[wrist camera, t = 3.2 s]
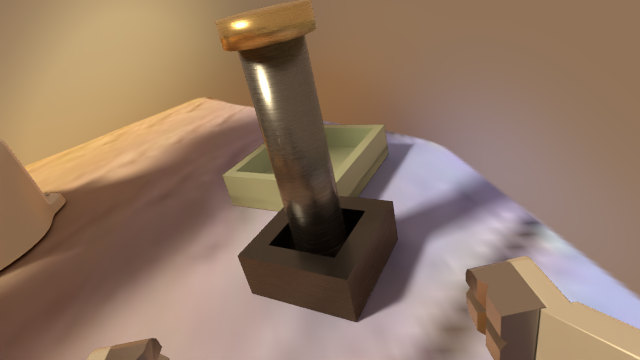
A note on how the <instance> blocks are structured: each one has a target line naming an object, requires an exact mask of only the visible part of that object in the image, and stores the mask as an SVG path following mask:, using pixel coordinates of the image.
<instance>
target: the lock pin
mask: <svg viewBox="0 0 640 360" xmlns="http://www.w3.org/2000/svg"><path fill="white" fill-rule="evenodd" d="M215 24H216V27H217V30H218V34H219V37H220V40H221V43H222V47H223V49H224V50H225V51H238V53H239V57H240V60H241V64H242V67H243V71H244V74H245V77H246V81H247V84H248V87H249V91H250V94H251V98H252V101H253V104H254V108H255V111H256V114H257V118H258V121H259V125H260V128H261V131H262V135H263V138H264V141H265V145H266V148H267V152H268V155H269V158H270V162H271V165H272V169H273V172H274V175H275V179H276V182H277V185H278V189H279V192H280V196H281V199H282V202H283V206H284V209H285V212H286V216H287V219H288V223H289V226H290V229H291V233H292V236H293V240H294V243H295V246H296V250H297V251H301V252H306V253H311V254H317V255H322V256H327V257H332V258H335V257H336V255H337V254H338V252H339V251H340V249H341V248H342V246H343V245H344V243H345V242H346V240H347V233H346V229H345V224H344V219H343V214H342V210H341V205H340V200H339V195H338V191H337V186H336V181H335V176H334V172H333V167H332V162H331V157H330V153H329V148H328V143H327V138H326V134H325V129H324V124H323V119H322V115H321V110H320V105H319V101H318V96H317V91H316V86H315V82H314V77H313V72H312V67H311V63H310V58H309V53H308V49H307V44H306V39H305V35H306V34H308V33H310V32H312V31H314V30H315V29H316V23H315V17H314V12H313V7H312V2H311V0H297V1H291V2H286V3H281V4H276V5H272V6H267V7H263V8H259V9H255V10H251V11H247V12H243V13H239V14H236V15H232V16H229V17H225V18H223V19H220V20H217V21H215Z"/></svg>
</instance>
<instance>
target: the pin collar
mask: <svg viewBox="0 0 640 360" xmlns="http://www.w3.org/2000/svg"><path fill="white" fill-rule="evenodd" d="M339 200H340V205H341V210H342V214H343V219H344V224H345V229H346V233H347V240H346V242H345V243H344V245H343V246H342V248H341V249H340V251H339V252H338V254H337V255H336V257H335V258H332V257H327V256H322V255H317V254H311V253H306V252H301V251H297V250H296V246H295V243H294V240H293V236H292V233H291V229H290V226H289V223H288V219H287V216H286V212H285V209H284V207H283V208H282V209H281V210H280V211H279V212H278V213H277V215H276V216H275V217H274V218H273V219H272V220H271V221H270V222H269V223H268V224H267V225H266V226H265V227H264V228H263V229H262V230H261V232H260V233H259V234H258V235H257V236H256V237H255V238H254V239H253V240H252V241H251V242H250V243H249V244H248V245H247V246H246V247H245V249H244V250H243V251H242V252H241V253H240V254H239V255H238V258H239V261H240V263H241V266H242V268H243V271H244V273H245V276H246V279H247V281H248V284H249V286H250V289H251V291H252V293H253V294H257V295H260V296H264V297H268V298H271V299H275V300H278V301H282V302H286V303H289V304H293V305H296V306H300V307H304V308H307V309H311V310H314V311H318V312H322V313H325V314H329V315H332V316H336V317H340V318H343V319H347V320H350V321H354V322H357V320H358V318H359V316H360V314H361V312H362V310H363V308H364V306H365V304H366V302H367V300H368V298H369V296H370V294H371V292H372V290H373V288H374V286H375V284H376V282H377V280H378V278H379V276H380V274H381V272H382V270H383V268H384V266H385V264H386V262H387V260H388V258H389V256H390V254H391V252H392V250H393V248H394V246H395V244H396V242H397V240H398V237H397V229H396V222H395V214H394V207H393V201H385V200H376V199H366V198H356V197H346V196H339Z"/></svg>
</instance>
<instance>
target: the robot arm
mask: <svg viewBox="0 0 640 360" xmlns="http://www.w3.org/2000/svg"><path fill="white" fill-rule="evenodd" d="M65 202H66V200H65V199H64V197H63V196H62V195H61V194H60V193H43V192H42V191H41V190H40V188H39V187H38V186H37V184H36V183H35V181H34V180H33V179H32V177H31V176H30V175H29V173H28V172H27V171H26V169H25V168H24V167H23V165H22V164H21V163H20V161H19V160H18V159H17V157H16V156H15V155H14V153H13V152H12V151H11V149H10V148H9V147H8V145H7V144H6V143H5V142H4V141H2V140H1V139H0V270H2V269H3V268H5V267H6V266H8V265H9V264H11V263H12V262H13V261H15V260H16V259H18V258H19V257H20V256H22V255H23V254H24V253H26V252H27V251H28V250H29V249H30V248H32V247H33V246H34V245H35V244H36V243H37V242H38V241H39V240H40V239H41V238H42V237H43V236H44V235H45V234H46V232H47V231H48V229H49V228H50V226H51V224H52V220H53V217H54V215H55V213H56V212H57V211H58V210H59V209H60V208H61V207H62V206H63V205H64V204H65ZM466 282H467V284H468V285H469V287H470V289H469V290H468V292H467V293H466V299H467V306H468V310H469V314H470V316H471V319H472V321H473V323H474V325H475V327H476V329H477V330H478V331H479V332H481V333H483V334H484V335H486V347H487V348H488V350H489V352H490V354H491V355H492V357H493V359H494V360H640V329H638V328H635V327H633V326H631V325H629V324H626V323H624V322H622V321H620V320H617V319H615V318H613V317H611V316H608V315H606V314H604V313H602V312H599V311H597V310H595V309H593V308H590V307H588V306H586V305H584V304H581V303H579V302H572V303H570V301H569V300H568V299H567V298H566V297H565V296H564V295H563V294H562V293H561V291H560V290H559V289H558V288H557V287H556V286H555V285H554V284H553V283H552V282H551V280H550V279H549V278H548V277H547V276H546V275H545V274H544V273H543V272H542V270H541V269H540V268H539V267H538V266H537V265H536V264H535V263H534V262H533V260H532V259H531V258H529V257H527V256H523V257H519V258H514V259H510V260H506V261H501V262H497V263H492V264H488V265H483V266H479V267H475V268H470V269H467V271H466ZM161 348H162V346H161V345H160V343H159V342H158V340H157V339H156V338H150V339H145V340H140V341H134V342H129V343H124V344H119V345H114V346H110V347H105V348H100V349H96V350H94V351H93V352H92V353H91V354H90V355H89V357H88V359H87V360H170V359H169V358H168V357H166V356H164V355H162V354H160V351H161Z"/></svg>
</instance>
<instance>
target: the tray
mask: <svg viewBox="0 0 640 360" xmlns="http://www.w3.org/2000/svg"><path fill="white" fill-rule="evenodd" d="M324 129H325V134H326V138H327V143H328V148H329V153H330V157H331V162H332V167H333V172H334V176H335V181H336V186H337V191H338V195H339V196H346V197H356V198H357V197H358V196H359V195H360V193H361V192H362V190H363V189H364V188H365V186H366V185H367V183H368V182H369V181H370V179H371V178H372V176H373V175H374V174H375V172H376V171H377V169H378V168H379V167H380V165H381V164H382V162H383V161H384V160H385V158H386V157H387V155H388V147H387V139H386V132H385V125H324ZM222 176H223V178H224V181H225V184H226V187H227V189H228V192H229V195H230V197H231V200H232V203H233V205H237V206H244V207H251V208H259V209H266V210H273V211H280V210H281V209H282V208H283V207H284V206H283V202H282V199H281V196H280V192H279V189H278V185H277V182H276V179H275V175H274V172H273V169H272V165H271V162H270V158H269V155H268V152H267V148H266V145H265V143H264V144H262V145H261V146H260V147H258V148H257V149H256V150H255V151H253V152H252V153H251V154H249V155H248V156H247V157H246V158H244V159H243V160H242V161H240V162H239V163H238V164H236V165H235V166H234V167H233V168H231V169H230V170H229V171H227V172H226V173H225V174H224V175H222Z"/></svg>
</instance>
